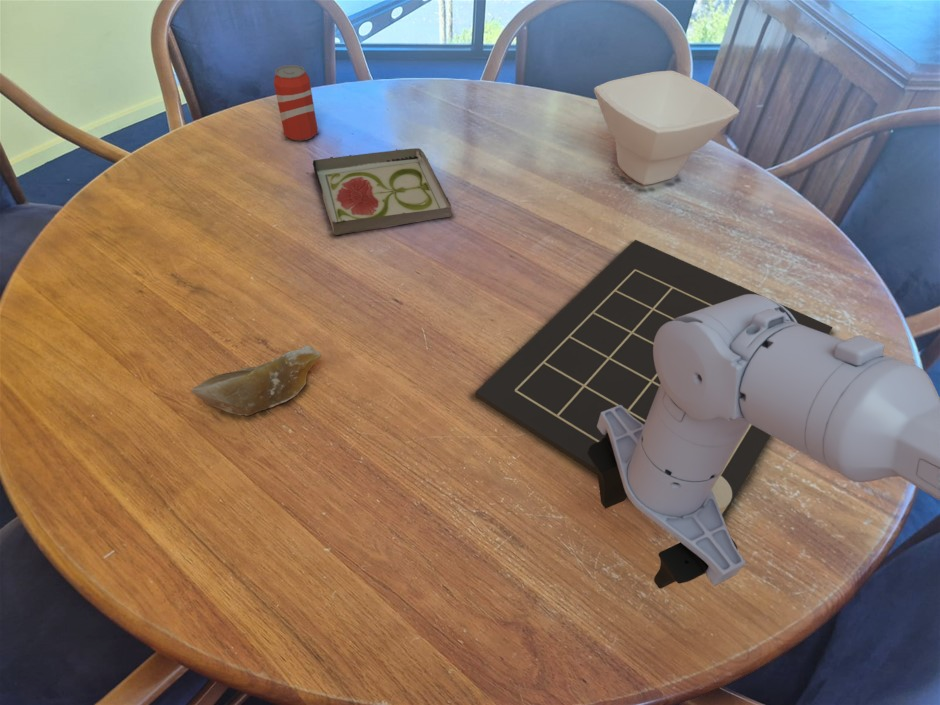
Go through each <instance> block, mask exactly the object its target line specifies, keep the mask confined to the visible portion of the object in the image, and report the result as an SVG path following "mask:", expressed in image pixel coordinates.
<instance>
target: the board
mask: <svg viewBox="0 0 940 705" xmlns="http://www.w3.org/2000/svg"><path fill="white" fill-rule="evenodd" d="M746 294H757V295H760V296H762V295H761V294H759V293H757V292H755V291H752V290H750V289H748V288H745V287H743V286H741V285H739V284H736V283H734V282H732V281H730V280H727V279H725V278H723V277H722V276H718V275H716V274H714V273H711V272H710V271H707V270H705V269H703V268H700V267H699V266H696V265H693V264H691V263H690V262H687V261H685V260H683V259H680V258H678V257H676V256H673V255H671V254H669V253H667V252H664V251H662V250H660V249H658V248H656V247H653V246H651V245H648V244H646V243H644V242H642V241H639V240H638V239H634V240H633V241H632V242H631V243H630V244H629V245H628V246H627V247H626V248H625V249H624V250H622V252H620V254H619V255H618V256H616V258H615V259H613V260H612V261H611V262H610V263H609V264H608V265H607V266H606V267H605V268H604V269H603V270H602V271H600V273H599V274H597V275H596V276H595V277H594V278H593V279H592V280H591V281H590V282H589V283H588V284H587V285H586V286H585V287H584V288H583V289H582V290H581V291H580V292H579V293H577V295H575V296H574V297H573V298H572V299H571V301H569V302H568V303H567V304H566V305H565V306H564V307H563V308H562V309H561V310H560V311H559V312H558V313H557V314H556V315H555V316H553V318H551V319H550V320H549V321H548V322H547V323H546V324H545V325H544V326H543V327H542V328H541V329H540V330H538V332H537V333H536V334H535V335H534V336H532V338H530V339H529V340H528V341H527V342H526V343H525V344H524V345H523V346H522V347H521V348H520V349H519V350H518V351H517V352H515V353H514V355H513V356H511V357H510V359H508V360H507V361H506V362H505V363H504V364H503V365H502V366H501V367H500V368H499V369H498V370H497V371H496V372H495V373H494V374H493V375H492V376H491V377H490V378H488V379H487V380H486V381H485V382H484V383H483V384H482V385H480V387H479V388H478V389H476V391H475V398H476V399H478V400H480V401H481V402H483V403H484V404H486V405H487V406H488V407H490V408H492V409H493V410H495V411H497V412H498V413H500V414H501V415H503V416H504V417H506V418H508V419H509V420H511V421H512V422H513V423H516V424H517V425H518V426H520V427H522V428H523V429H525V430H527V431H528V432H530V433H531V434H533V435H534V436H536V437H537V438H539V439H540V440H542V441H543V442H545V443H546V444H548V445H550V446H551V447H553V448H554V449H556V450H558V451H559V452H561V453H562V454H564V455H565V456H567V457H569V458H570V459H571V460H573V461H575V462H577V463H578V464H579V465H581V466H583V467H585V468H586V469H587V470H589V471H590V472H592V473H594V474H595V475H597V473H596V470H595V467H594V465H593V463H592V461H591V459H590V457H589V455H588V450H589V448H590V446H591V445H592V444H594V443H596V442H599V441H601V440H602V438H605V435H603V434H602V433H601V432H600V430H599V429H598V428H597V424H598V421H599V417H600V414H601V412H603V411H606V410H608V409H611V408H613V407H616V406H619V405H622V406H623V407H624V408H625V410H626V411H627V412H628V413H629V414H630V415H631V416H633V417H634V418H635V419H636V420H638V421H639V422H641V423H642V424H643V425H644V424H645V422H646V419H647V417H648V414H649V411H650V409H651V406H652V404H653V401H654V398H655V396H656V393H657V391H658V388H659V385H660V383H661V382H660V380H659V378H658V375H657V372H656V368H655V364H654V358H653V345H654V339H655V336H656V334H657V332H658V330H659V329H660V327H661V326H663V325H664V324H665V323H667V322H670V321H673V320H674V319H675V318H677V317H680V316H683V315H686V314H689V313H692V312H695V311H698V310H701V309H704V308H707V307H709V306H712V305H715V304H718V303H721V302H724V301H727V300H730V299H733V298H736V297H739V296H742V295H746ZM771 300H772V301H774V300H773V299H771ZM780 304H781V305H782V306H784V308H786V309H787V310H788V311H789V312H790V313H791V314H792V315H793V317H794V318H795V319H796V321H797V323H798V324H801V325H803V326H806V327H809V328H811V329H814V330H817V331H820V332H823V333H825V334H828V335H830V333H831V331H832V330H833V326H832V325H829V324H827V323H824V322H823V321H820V320H818V319H816V318H814V317H811V316H809V315H807V314H804V313H802V312H799V311H797V310H795V309H793V308H792V307H788V306H787V305H784V304H782V303H780ZM771 437H772V436H771V435H769V434H767V433H766V432H764V431H762V430H760V429H759V428H757V427H755V426H753V425H752V424H750V425H749V427H748V429H747V430H746V432H745V434H744V435H743V437H742V438H741V440H740V442H739V443H738V445H737V447H736V448H735V450H734V452H733V454H732V455H731V457H730V459H729V460H728V462H727V464H726V465H725V468H724V469H723V471H722V473H721V474H720V476H722V477H723V478H724V479H725V480H726V481H727V482H728V483H729V485H730V487H731V490H732V499H731V501H730V503H729V505H728V506H727V508H726V509H725V511H724V512H723V514H722V516H723V519H724V518H725V516H726V514H728V511H729V509H730V508H731V507H732V504H733V502H734V500H735V499H736V497H737V495H738V494H739V492H740V490H741V488H742V486H743V484H744V483H745V481H746V479H747V478H748V476H749V474H750V473H751V471H752V469H753V467H754V465H755V464H756V462H757V460H758V459H759V457H760V455H761V453H762V451H763V450H764V448H765V446H767V443H768V441H769V439H770V438H771Z"/></svg>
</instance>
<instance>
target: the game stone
mask: <svg viewBox="0 0 940 705" xmlns="http://www.w3.org/2000/svg"><path fill="white" fill-rule="evenodd" d="M712 491H713V494H714V496H715V499H716V501H717V504H718V506H719V509H720V511H721V514H723V512H724V511H725V509H726V508H727V506H728V505H729V503H730V501H731V499H732V490H731V487H730V485H729V483H728V482H727V481H726V480H725V479H724V478H723V477H722V476H719V478H718V479H717V481H716V483H715V484H714V486H713V488H712Z"/></svg>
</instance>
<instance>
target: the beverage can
mask: <svg viewBox="0 0 940 705" xmlns="http://www.w3.org/2000/svg"><path fill="white" fill-rule="evenodd" d="M274 74H275V75H274V80H273V86H274V91H275V95H276V100H277V101H276V102H277V105H278V110H279V114H280V115H279V116H280V120H281V126H282V130H283V134H284V136H285V137H287V138H289V139H290V140H293V141H297V142H304V141H309V140H310V139H312V138H313V137H314V136H316V135H317V134H318V124H317V123H318V122H317V118H316V112H315V111H316V110H315V104H314V99H313V91H312V86H311V81H310V80H311V79H310V76H309V75H308V74H307V72H306V70H305V67H303V66H301V65H297V64H288V65H281V66H279V67H277V68H276V69H275V73H274Z"/></svg>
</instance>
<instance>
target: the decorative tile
mask: <svg viewBox="0 0 940 705" xmlns="http://www.w3.org/2000/svg"><path fill="white" fill-rule="evenodd" d="M312 166H313V171H314V174H315V177H316V180H317V183H318V186H319V189H320V193H321V196H322V199H323V203H324V206H325V209H326V213H327V215H328V216H327V217H328V219H329V221H330V222H329V223H330V226H331V228H332V234H333V235H335V236H341V235H345V234H353V233H358V232H364V231H372V230H379V229H386V228H392V227H396V226H401V225H408V224H412V223H419V222H424V221H430V220H436V219H442V218H443V219H444V218H450V217H451V216H452V208H451V206H452V205H451V202H450V201H449V198H448V197H447V196H446V194H445V191H444V189H443V188H442V186H441V183H440V181H439V179H438V178H437V176H436V173H435V172H434V169H433V168H432V166H431V164H430V162H429V159H428V158H427V156H426V154H425V152H424V151H423V150H422V149H421V148H419V147H417V148H416V147H415V148H405V149H397V148H396V149H394V150H388V151H379V152H378V151H377V152H370V153H369V152H368V153H363V154H362V153H361V154H360V153H359V154H350V155H344V156H343V155H342V156H337V157H334V156H329V158H328V157H327V158H320V159H313V160H312Z"/></svg>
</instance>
